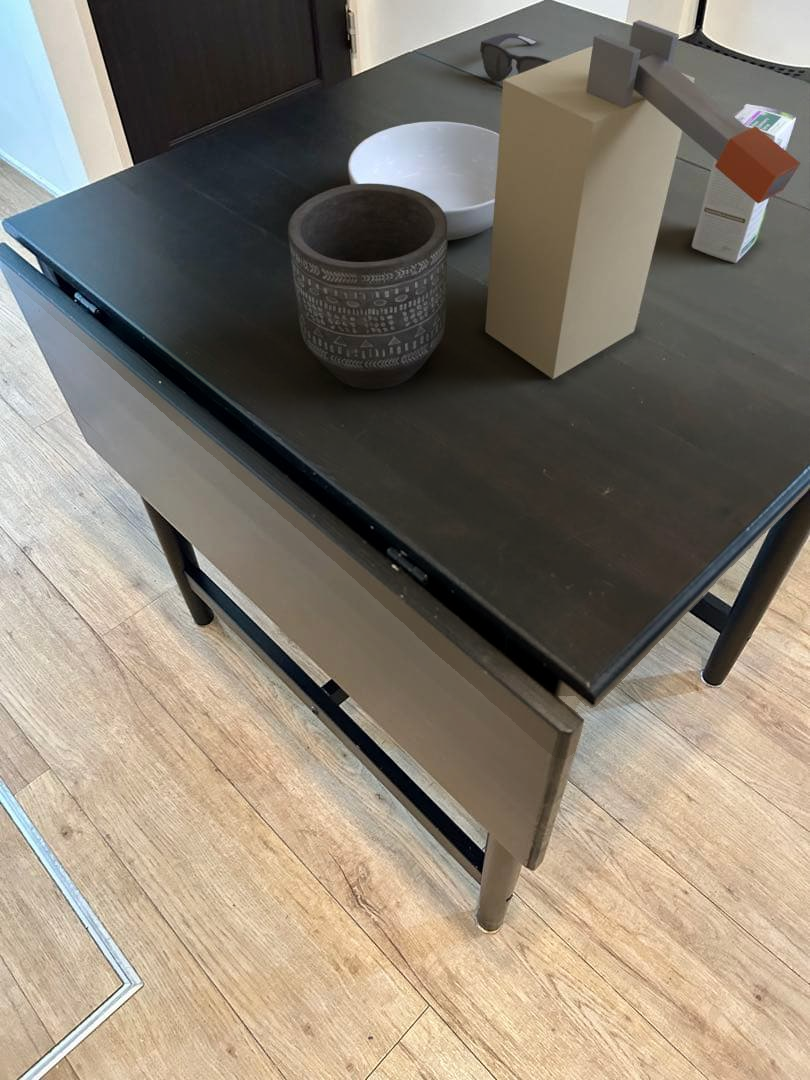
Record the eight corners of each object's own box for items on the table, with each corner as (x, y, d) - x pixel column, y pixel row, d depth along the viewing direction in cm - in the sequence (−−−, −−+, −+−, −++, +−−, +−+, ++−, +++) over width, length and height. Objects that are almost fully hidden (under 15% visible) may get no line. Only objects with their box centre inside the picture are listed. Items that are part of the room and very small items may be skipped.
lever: (782, 190, 62) (801, 163, 60) (758, 204, 61) (775, 176, 58) (648, 77, 66) (660, 47, 64) (622, 87, 65) (634, 58, 63)
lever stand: (634, 331, 87) (708, 23, 65) (553, 379, 82) (602, 65, 60) (565, 289, 92) (611, -12, 70) (485, 331, 87) (506, 25, 65)
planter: (368, 300, 91) (360, 167, 80) (472, 350, 85) (480, 214, 74) (276, 365, 84) (253, 230, 73) (383, 425, 79) (376, 288, 67)
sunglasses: (465, 74, 128) (469, 38, 124) (526, 53, 137) (531, 18, 134) (555, 103, 121) (562, 65, 117) (613, 79, 130) (621, 43, 127)
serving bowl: (345, 264, 96) (340, 208, 90) (357, 174, 109) (354, 120, 104) (526, 265, 95) (533, 208, 90) (516, 174, 108) (521, 120, 103)
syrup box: (736, 264, 94) (779, 136, 83) (688, 248, 97) (723, 120, 85) (756, 242, 97) (800, 115, 86) (709, 226, 100) (745, 100, 88)
